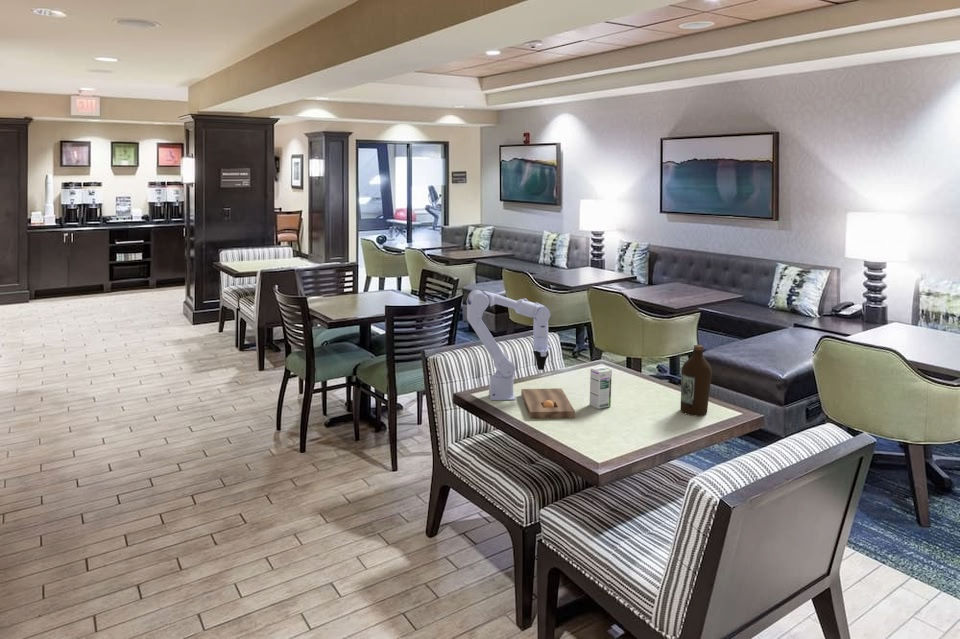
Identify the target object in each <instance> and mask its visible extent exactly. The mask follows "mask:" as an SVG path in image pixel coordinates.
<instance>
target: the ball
mask: <svg viewBox="0 0 960 639" xmlns="http://www.w3.org/2000/svg"><path fill="white" fill-rule="evenodd" d="M543 408H554V404H553V402H552V401H550V400H547V401H545V402H544V403H543Z"/></svg>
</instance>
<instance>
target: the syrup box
mask: <svg viewBox="0 0 960 639" xmlns="http://www.w3.org/2000/svg"><path fill="white" fill-rule="evenodd" d="M589 371H590V373H589V374H590V379H589V380H590V381H589V405H590V406H591V407H593V408H595V409H597V410H600V409H604V408H605V409H606V408H611V405H612V404H611V403H612V374H613V373H612V372H613V370H612V369H610V368H608V367H605V366H600V367H599V366H598V367H594V368H590V370H589Z"/></svg>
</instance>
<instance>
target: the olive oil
mask: <svg viewBox="0 0 960 639" xmlns="http://www.w3.org/2000/svg"><path fill="white" fill-rule="evenodd" d="M692 350H693V351H692V353H693V354H692V356H691V357H690V358H688V359H687V360H685V361H684V363H683V364H682V367H681V371H680V375H681V376H680V409H679V410H680V412H681V411H682V412H681V413H683V414H685V413H686V414H685V415H688V414H689V416H693V415H702V416H705V415H707V414H708V408H709V407H708V406H709V398H710V391H711V384H712V376H713V370H712V367H711V365H710V363H709V362H708V361H707V360H706V359H705V357H704V356H703V354H704V345H702V344H695V345H693V349H692ZM706 413H707V414H706ZM704 414H705V415H704Z"/></svg>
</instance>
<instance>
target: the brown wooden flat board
mask: <svg viewBox="0 0 960 639" xmlns="http://www.w3.org/2000/svg"><path fill="white" fill-rule="evenodd" d="M520 395H521V398H522V400H523V404H524V406H525V409H526V412H527V414H528V417H529V419H575V415H576V410H575V409H574V407H573V405H572V403H571V402H570V400H569V399H568V397H567V395H566V393H565V392H564V390H563V388H558V387H556V388H521V392H520ZM547 400H550V401H552V402H553V404H554V408H543V403H544V402H545V401H547Z"/></svg>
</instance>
